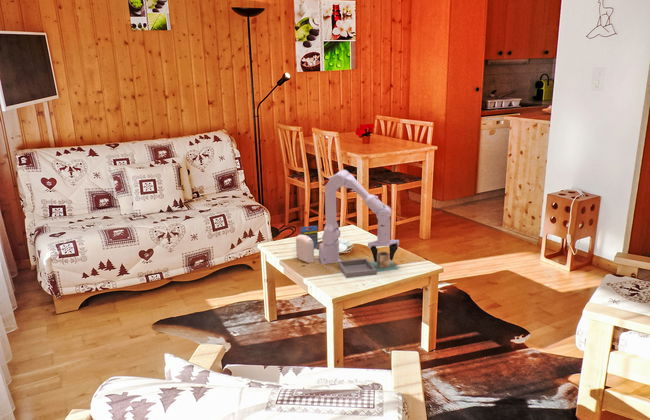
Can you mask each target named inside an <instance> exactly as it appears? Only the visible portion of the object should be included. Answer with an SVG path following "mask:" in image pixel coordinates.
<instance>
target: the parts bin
mask: <svg viewBox="0 0 650 420" xmlns="http://www.w3.org/2000/svg"><path fill="white" fill-rule="evenodd" d="M370 262H371V261H370V260H369V259H368V258H357V259H349V260H348V259H347V260H341V261H338V262H337V266H338V268H339V269H340V271H341V272H342V274H343V275H344V276H345V278H347V279H348V278H356V277H365V276H372V275H374V276H375V275H378V274H377V273H378V272H377V270H376V268H375V267H374V266H373V265H372V264H371V263H370Z"/></svg>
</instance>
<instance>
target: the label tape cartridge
mask: <svg viewBox="0 0 650 420" xmlns="http://www.w3.org/2000/svg"><path fill="white" fill-rule="evenodd" d="M298 235H306V236H308V237H310V238H311V239H312V240H313V242H314V249H317V248H316V246H318V247H319V244H318V243H319V240H318V239H319V238H318V237H319V234H318V225H309V226H301V227H300V232H298Z"/></svg>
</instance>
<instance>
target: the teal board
mask: <svg viewBox="0 0 650 420" xmlns="http://www.w3.org/2000/svg"><path fill="white" fill-rule="evenodd" d="M369 262H370V263H371V264H372V265H373V266H374V267H375V268H376V270H377V273H378V272H380V273H381V272H387V271H397V270H399V268H398V266H396V265H395V264H394V263H393V262H392V261H391V260H390V265H389V267H388V268H379V266H378V265H377V262H375V261H369Z"/></svg>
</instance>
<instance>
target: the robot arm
mask: <svg viewBox="0 0 650 420" xmlns="http://www.w3.org/2000/svg"><path fill="white" fill-rule="evenodd" d="M342 187H343V188H344V189H352V191H354V192H355V193H356V194H357V195H359V196H360V198H362V199H363V200H364V204H365V205H366V206H367V208H369V209H370V211H372V213H374V214H375V216H376V219H377V240H375V241H370V242H367V247H368V248H369V249H370V252H371V253H372V258H373V262H377V252H379V249H378V248H379V247H389V248H388V249H389V255H390V261H391V262H392V261H393V259H394V255H395V254H396V252H397V250H398V248H399V247H398V246H400V240H399V239H391V217H392V214H393V210H392V208H391V207H390V206H389V205H386V203H383V202H382V201H381V200H380V199H379V196H378V195H375V194H370V193H369V192H368V191H367V190H366V189H365V188H364V187H363V185H362V184H360V182H359V181H358V180H357V179H356V178H355V176H354V175H353V174H352V173H350V172H349V171H348V170H347V169H341V170H339V171H338V172H337V173H334V174H333V175H332V176H331V177H329V179H328V182H327V183H326V184H325V186H324V209H325V210H324V211H325V214H324V215H325V226H324V227H323V234H322V236H321V240H322V243H319V244H318V260H319V261H320V263H321V264H323V265H325V264H334V263H338V261H342V260H341V258H340V241H339V238H340V236H341V231H340V228H339V223H338V222H337V220H338V219H337V217H338V216H337V212H338V211H337V190H339V189H340V188H342Z"/></svg>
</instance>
